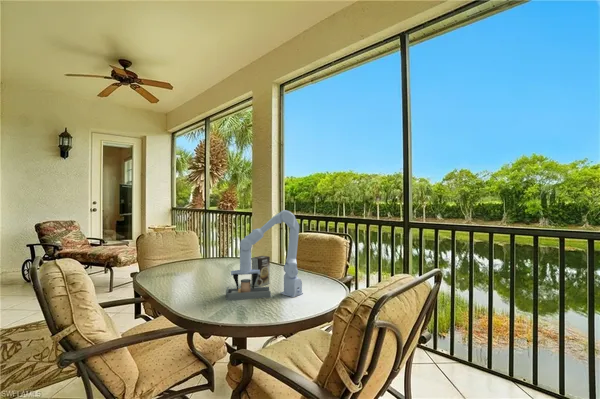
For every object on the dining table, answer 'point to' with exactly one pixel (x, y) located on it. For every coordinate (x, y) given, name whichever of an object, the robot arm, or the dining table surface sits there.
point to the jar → (245, 285)
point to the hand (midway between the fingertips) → (245, 288)
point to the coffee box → (261, 270)
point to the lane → (248, 293)
